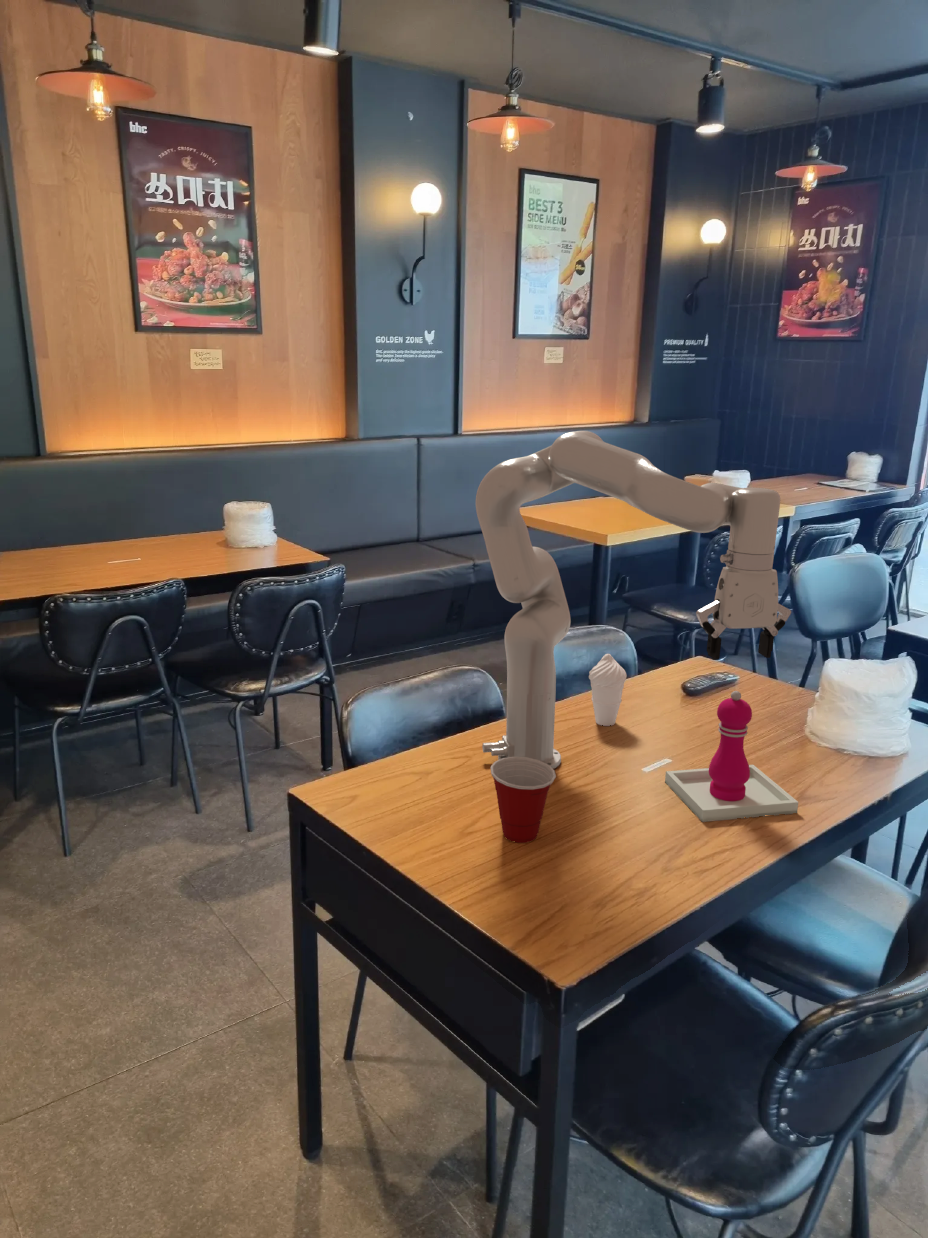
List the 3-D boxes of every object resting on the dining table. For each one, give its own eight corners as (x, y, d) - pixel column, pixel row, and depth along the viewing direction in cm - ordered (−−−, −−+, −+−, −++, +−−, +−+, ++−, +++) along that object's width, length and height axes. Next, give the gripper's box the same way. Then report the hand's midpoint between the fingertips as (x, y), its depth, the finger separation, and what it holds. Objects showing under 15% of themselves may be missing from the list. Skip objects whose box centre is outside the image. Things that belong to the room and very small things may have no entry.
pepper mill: (752, 803, 157) (763, 698, 152) (712, 802, 157) (721, 697, 152) (741, 785, 164) (750, 684, 159) (702, 785, 164) (710, 684, 159)
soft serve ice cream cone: (626, 730, 192) (630, 660, 188) (588, 729, 192) (592, 660, 188) (620, 716, 200) (624, 649, 196) (584, 715, 200) (587, 648, 196)
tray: (702, 822, 151) (703, 810, 151) (665, 782, 167) (665, 771, 166) (797, 813, 155) (798, 802, 154) (752, 775, 170) (753, 764, 169)
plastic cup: (535, 858, 139) (537, 789, 136) (477, 840, 145) (477, 773, 142) (564, 830, 148) (567, 765, 145) (508, 814, 154) (510, 750, 151)
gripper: (712, 566, 144) (702, 665, 149) (808, 565, 147) (795, 661, 152) (693, 557, 151) (683, 651, 156) (784, 556, 154) (772, 648, 159)
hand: (738, 656), depth 154 cm, fingers open, 9 cm apart
